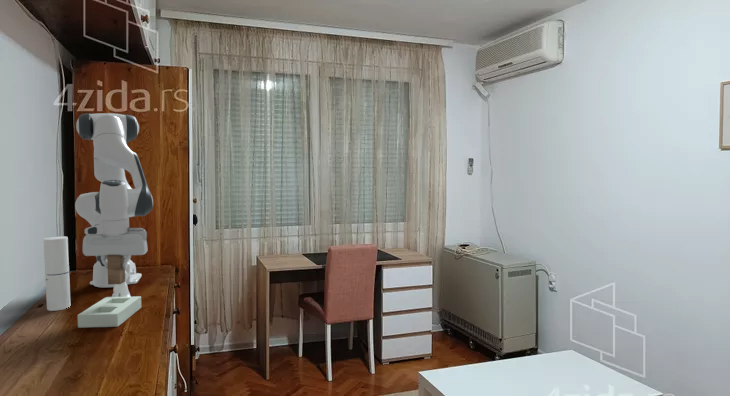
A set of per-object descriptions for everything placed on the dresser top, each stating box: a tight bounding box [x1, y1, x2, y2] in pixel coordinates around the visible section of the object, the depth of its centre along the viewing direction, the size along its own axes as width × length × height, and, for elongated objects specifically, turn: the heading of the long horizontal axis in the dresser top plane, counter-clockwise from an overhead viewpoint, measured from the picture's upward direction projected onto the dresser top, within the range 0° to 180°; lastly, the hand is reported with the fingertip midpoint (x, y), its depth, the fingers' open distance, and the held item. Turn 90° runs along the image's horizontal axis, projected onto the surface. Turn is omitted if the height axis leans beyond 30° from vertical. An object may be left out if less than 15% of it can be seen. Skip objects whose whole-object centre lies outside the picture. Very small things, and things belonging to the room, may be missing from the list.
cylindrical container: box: [43, 235, 72, 312], centre depth 171 cm, size 7×7×25 cm
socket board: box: [77, 295, 142, 329], centre depth 162 cm, size 20×12×4 cm, turn 5°
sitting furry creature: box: [111, 271, 132, 297], centre depth 178 cm, size 10×9×12 cm
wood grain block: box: [107, 255, 125, 285], centre depth 166 cm, size 4×4×10 cm
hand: (116, 268), depth 166 cm, fingers closed on wood grain block, 4 cm apart
